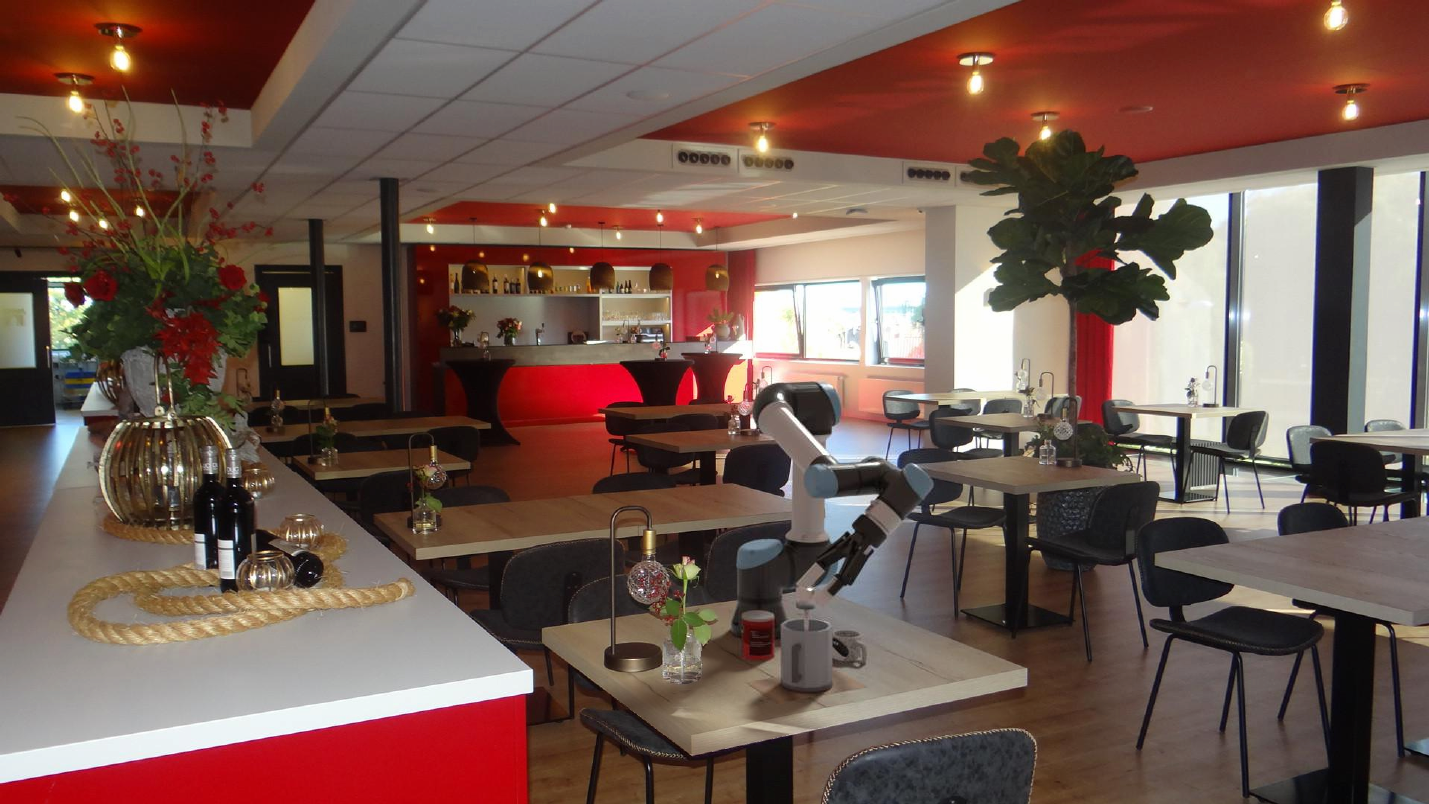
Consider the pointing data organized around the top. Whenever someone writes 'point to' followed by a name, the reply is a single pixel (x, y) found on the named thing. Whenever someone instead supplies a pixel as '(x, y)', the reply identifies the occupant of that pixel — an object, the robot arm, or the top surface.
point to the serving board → (781, 695)
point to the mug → (848, 646)
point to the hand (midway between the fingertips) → (808, 596)
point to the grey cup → (806, 656)
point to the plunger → (806, 602)
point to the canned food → (758, 635)
